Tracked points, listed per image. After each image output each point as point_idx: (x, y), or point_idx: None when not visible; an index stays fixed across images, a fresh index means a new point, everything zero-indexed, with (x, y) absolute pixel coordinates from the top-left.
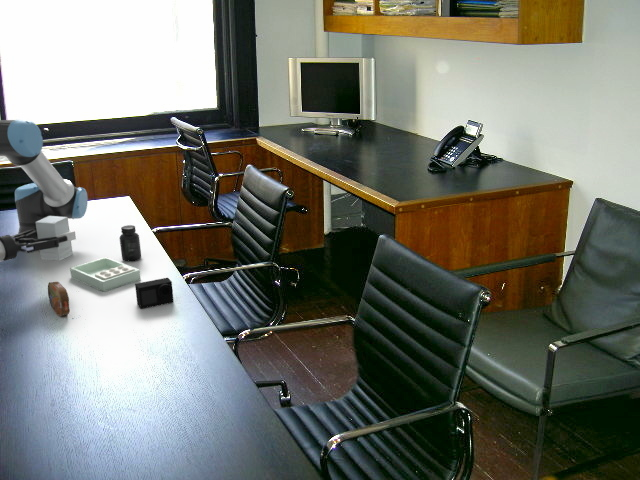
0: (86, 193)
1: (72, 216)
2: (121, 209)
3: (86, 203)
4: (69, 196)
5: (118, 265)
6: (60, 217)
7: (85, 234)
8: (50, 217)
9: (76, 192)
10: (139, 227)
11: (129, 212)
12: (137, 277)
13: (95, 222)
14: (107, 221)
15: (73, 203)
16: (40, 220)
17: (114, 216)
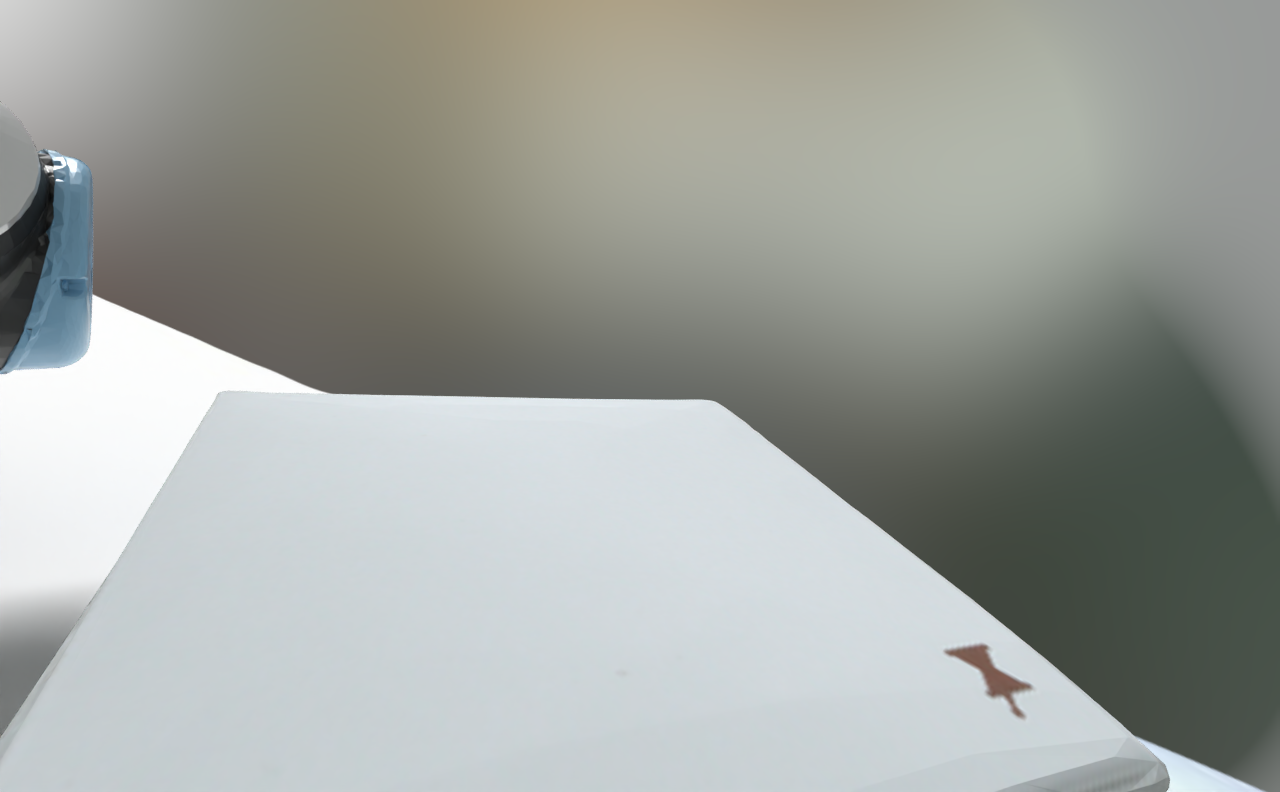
0: (92, 206)
1: (15, 356)
2: (99, 319)
3: (92, 271)
4: (6, 193)
5: None
6: (637, 422)
7: (18, 446)
8: (381, 448)
9: (50, 177)
10: (288, 388)
11: (153, 330)
12: None
13: (18, 375)
14: (87, 368)
15: (37, 257)
16: (145, 742)
17: (98, 346)
